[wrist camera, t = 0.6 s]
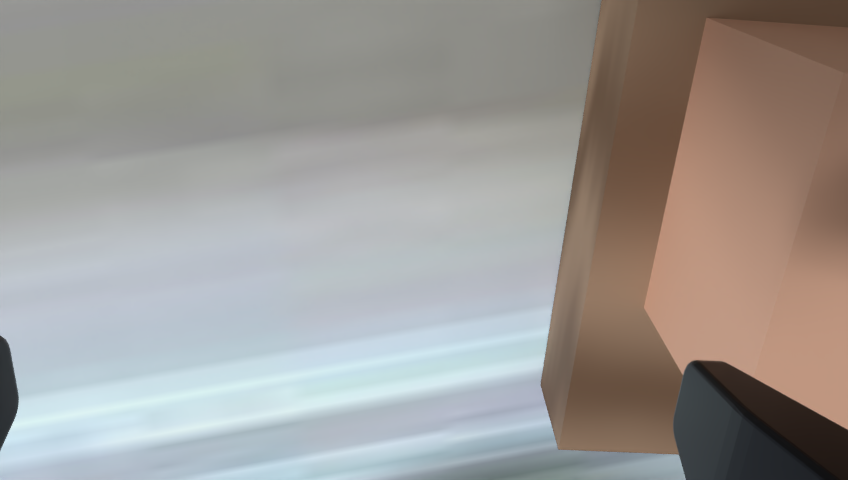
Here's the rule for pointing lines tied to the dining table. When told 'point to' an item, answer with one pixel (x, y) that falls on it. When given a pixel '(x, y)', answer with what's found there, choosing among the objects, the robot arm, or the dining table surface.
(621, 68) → the walnut deck
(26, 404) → the dining table surface
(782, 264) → the terracotta block
